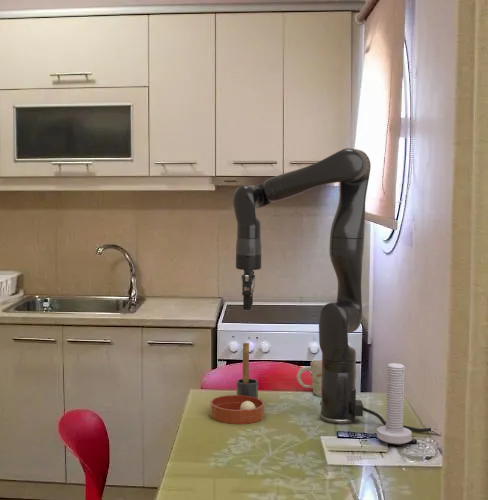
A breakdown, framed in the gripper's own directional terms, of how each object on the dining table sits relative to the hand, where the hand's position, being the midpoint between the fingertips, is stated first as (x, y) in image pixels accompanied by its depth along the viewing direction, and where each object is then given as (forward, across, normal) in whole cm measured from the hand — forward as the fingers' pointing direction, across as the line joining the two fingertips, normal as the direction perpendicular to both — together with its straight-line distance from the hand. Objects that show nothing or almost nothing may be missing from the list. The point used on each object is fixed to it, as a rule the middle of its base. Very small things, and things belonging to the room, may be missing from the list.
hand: (248, 307), depth 206 cm
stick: (+29, 0, 0) cm, 29 cm away
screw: (+30, +27, +39) cm, 56 cm away
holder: (+29, 0, 0) cm, 29 cm away
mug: (+30, -15, +21) cm, 39 cm away
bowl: (+29, +13, -2) cm, 32 cm away
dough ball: (+27, +12, 0) cm, 29 cm away
